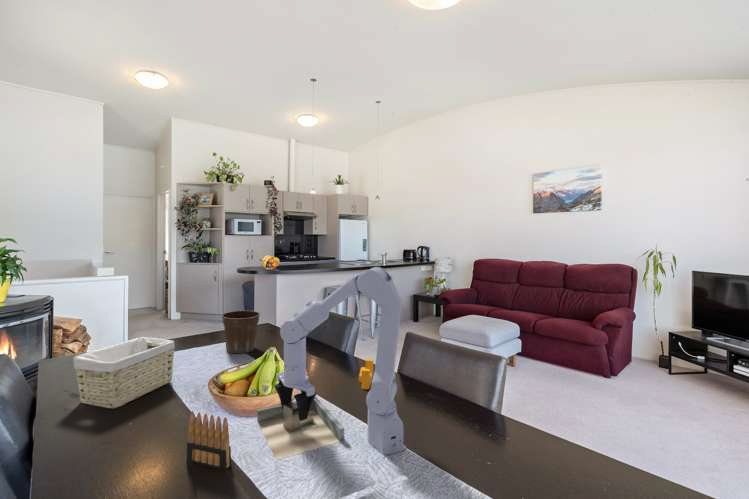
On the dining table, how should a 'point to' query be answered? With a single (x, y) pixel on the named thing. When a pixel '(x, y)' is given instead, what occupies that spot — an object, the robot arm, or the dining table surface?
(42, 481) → the dining table surface
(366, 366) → the pipe clamp
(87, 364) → the storage basket
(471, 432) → the dining table surface
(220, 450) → the ammunition clip
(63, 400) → the dining table surface
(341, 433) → the tray
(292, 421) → the bracket
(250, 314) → the plant pot
